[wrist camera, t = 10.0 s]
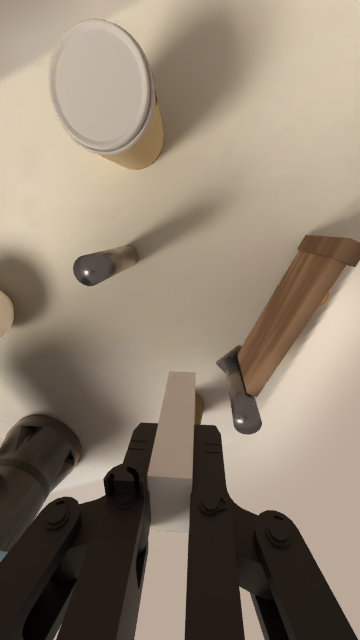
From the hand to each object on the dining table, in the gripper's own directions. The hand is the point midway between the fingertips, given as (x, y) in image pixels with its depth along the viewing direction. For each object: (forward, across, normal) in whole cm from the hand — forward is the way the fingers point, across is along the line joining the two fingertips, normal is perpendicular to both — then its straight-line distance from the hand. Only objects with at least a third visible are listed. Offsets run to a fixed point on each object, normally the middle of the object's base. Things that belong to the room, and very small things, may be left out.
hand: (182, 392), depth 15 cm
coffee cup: (+26, -8, +21) cm, 34 cm away
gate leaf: (+24, +12, -1) cm, 27 cm away
